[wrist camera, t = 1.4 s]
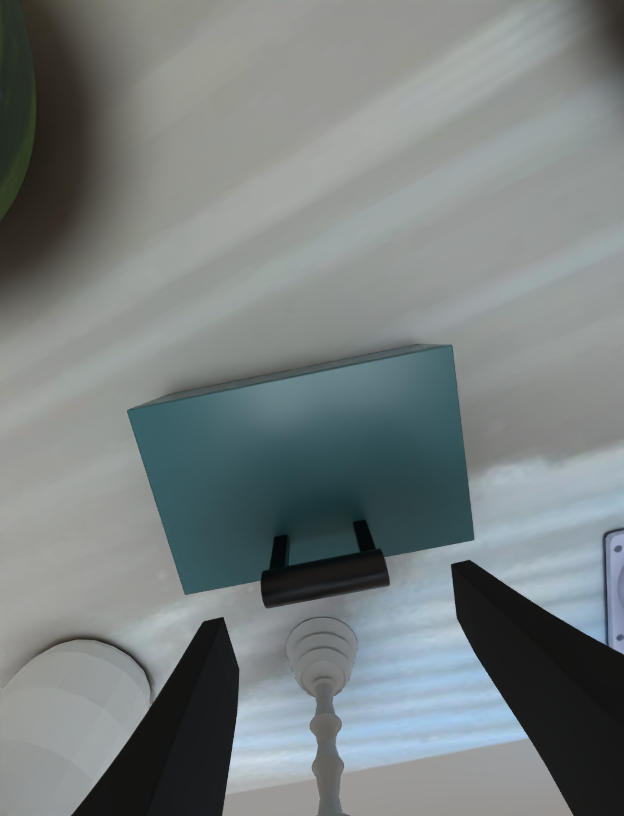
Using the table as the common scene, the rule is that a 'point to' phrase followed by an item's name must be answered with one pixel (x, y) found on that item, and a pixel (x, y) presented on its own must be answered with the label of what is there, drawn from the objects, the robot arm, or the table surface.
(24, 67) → the decorative sphere
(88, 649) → the cup
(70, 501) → the table surface
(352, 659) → the chalice
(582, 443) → the table surface
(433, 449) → the teal panel with handle
